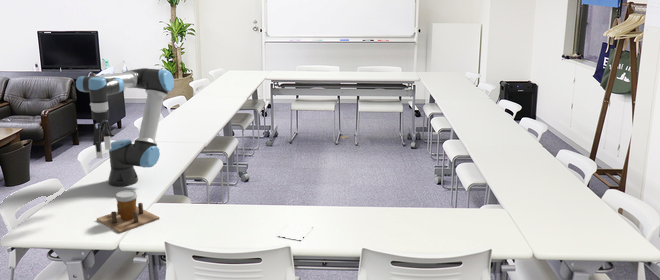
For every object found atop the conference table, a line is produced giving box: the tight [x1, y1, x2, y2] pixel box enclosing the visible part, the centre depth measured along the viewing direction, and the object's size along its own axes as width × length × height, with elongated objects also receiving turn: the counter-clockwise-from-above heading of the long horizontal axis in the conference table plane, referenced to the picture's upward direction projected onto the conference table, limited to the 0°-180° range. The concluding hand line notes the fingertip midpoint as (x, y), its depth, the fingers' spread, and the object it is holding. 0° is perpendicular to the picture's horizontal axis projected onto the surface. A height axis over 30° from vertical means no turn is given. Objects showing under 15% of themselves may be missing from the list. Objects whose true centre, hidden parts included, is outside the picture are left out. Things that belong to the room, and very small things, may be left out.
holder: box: [96, 202, 160, 234], centre depth 254 cm, size 20×20×6 cm
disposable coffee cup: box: [115, 189, 138, 220], centre depth 253 cm, size 10×10×12 cm
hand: (104, 153), depth 263 cm, fingers open, 13 cm apart
